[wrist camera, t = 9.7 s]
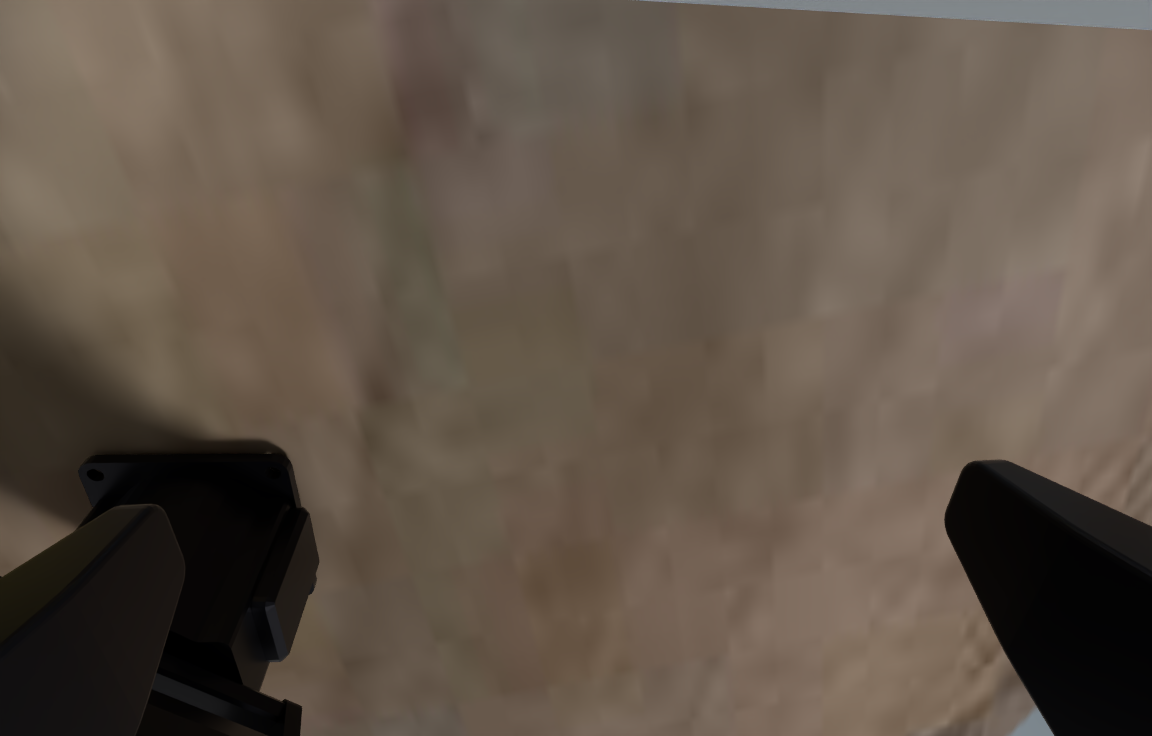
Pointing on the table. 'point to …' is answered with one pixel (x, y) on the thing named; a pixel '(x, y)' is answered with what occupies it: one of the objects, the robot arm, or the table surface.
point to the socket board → (978, 10)
